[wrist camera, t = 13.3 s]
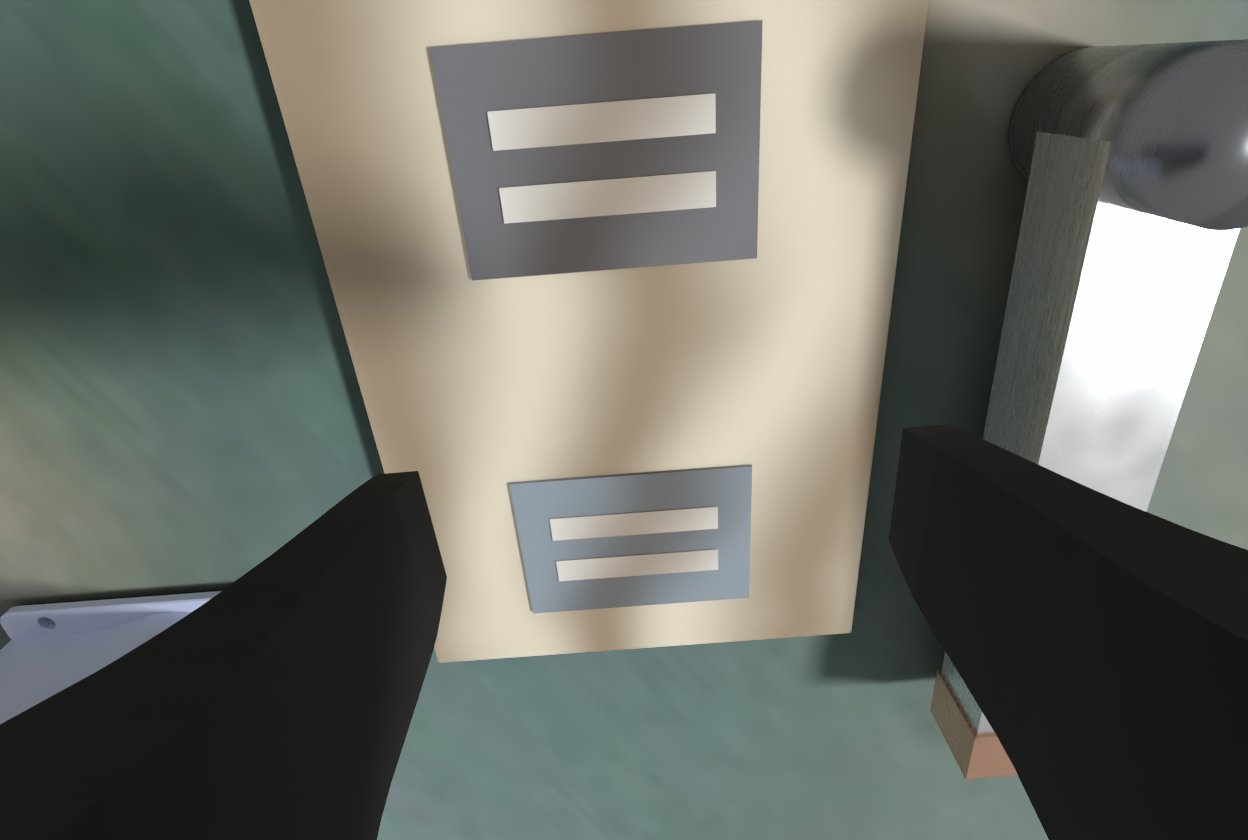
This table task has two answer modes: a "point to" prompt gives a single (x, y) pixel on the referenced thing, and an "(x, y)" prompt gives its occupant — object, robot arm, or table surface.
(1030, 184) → the light grey long piece
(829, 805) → the table surface
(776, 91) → the label board
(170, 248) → the table surface
